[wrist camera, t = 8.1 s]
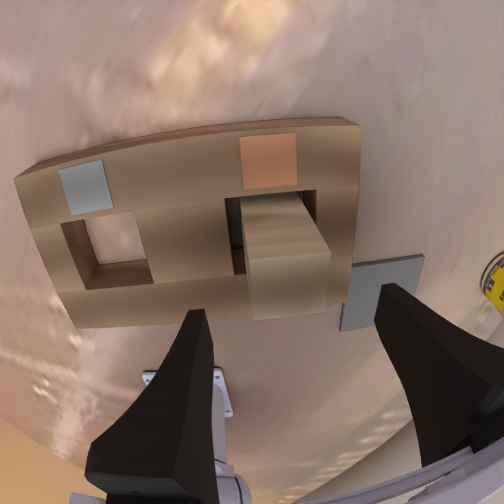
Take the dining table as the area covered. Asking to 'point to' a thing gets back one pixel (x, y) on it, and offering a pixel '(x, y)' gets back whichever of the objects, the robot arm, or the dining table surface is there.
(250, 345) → the dining table surface
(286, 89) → the dining table surface
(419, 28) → the dining table surface
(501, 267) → the supplement bottle
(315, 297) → the birch plug
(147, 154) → the socket board
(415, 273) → the mat
